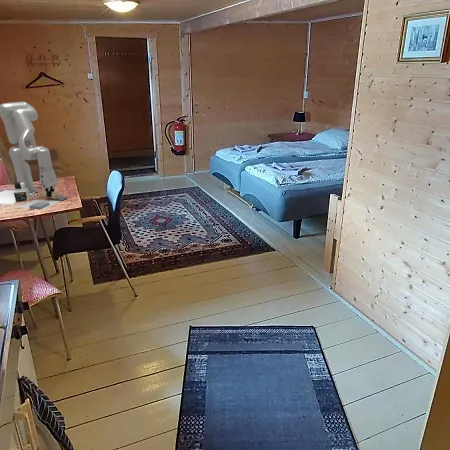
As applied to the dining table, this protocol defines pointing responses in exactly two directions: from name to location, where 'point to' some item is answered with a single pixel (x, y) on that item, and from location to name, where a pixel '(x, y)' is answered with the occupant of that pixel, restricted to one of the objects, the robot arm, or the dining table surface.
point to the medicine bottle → (21, 192)
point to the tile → (39, 205)
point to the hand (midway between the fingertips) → (51, 195)
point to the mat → (39, 201)
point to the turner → (54, 195)
